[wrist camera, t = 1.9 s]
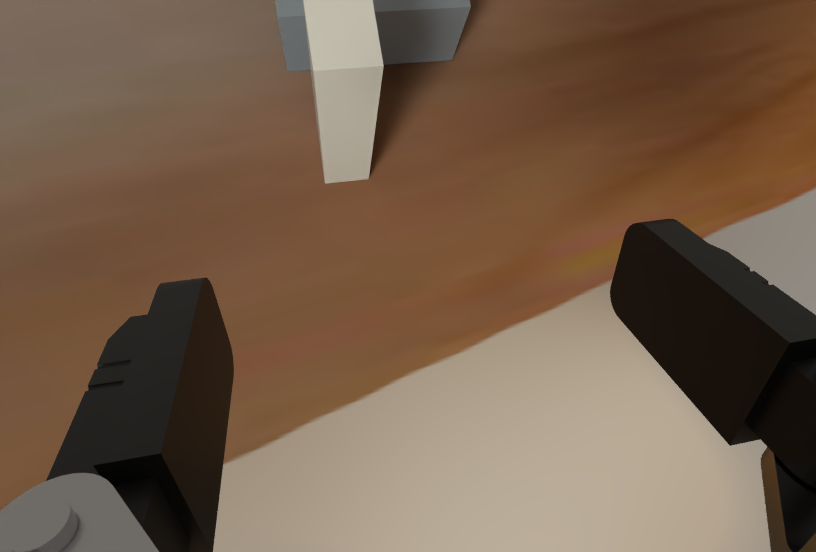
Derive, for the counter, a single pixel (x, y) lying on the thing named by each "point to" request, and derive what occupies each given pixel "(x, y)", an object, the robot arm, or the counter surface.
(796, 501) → the robot arm
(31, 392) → the counter surface
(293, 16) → the grey two-slot holder
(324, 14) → the cream rectangular block
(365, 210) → the counter surface
